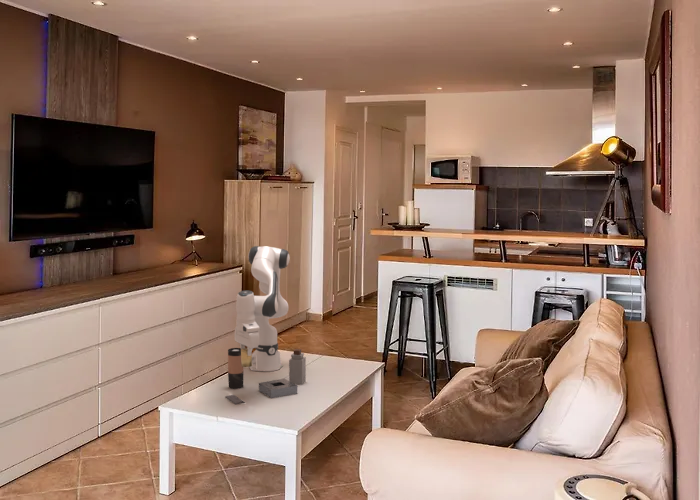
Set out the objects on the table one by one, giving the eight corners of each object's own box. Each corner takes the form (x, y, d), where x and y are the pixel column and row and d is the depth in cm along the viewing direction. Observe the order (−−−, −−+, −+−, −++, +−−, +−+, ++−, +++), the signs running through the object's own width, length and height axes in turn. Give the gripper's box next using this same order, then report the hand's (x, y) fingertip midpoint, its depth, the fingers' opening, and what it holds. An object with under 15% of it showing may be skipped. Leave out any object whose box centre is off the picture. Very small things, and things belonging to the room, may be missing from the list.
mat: (225, 397, 320) (225, 396, 320) (248, 393, 327) (248, 392, 327) (235, 404, 310) (235, 402, 310) (258, 400, 317) (258, 398, 317)
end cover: (239, 365, 318) (239, 349, 318) (249, 363, 321) (248, 347, 320) (244, 367, 314) (243, 350, 314) (253, 366, 317) (253, 349, 316)
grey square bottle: (302, 386, 339) (302, 351, 338) (289, 385, 341) (289, 351, 339) (305, 382, 346) (305, 348, 344) (293, 382, 347) (292, 348, 346)
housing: (258, 392, 329) (258, 382, 328) (284, 388, 336) (284, 378, 336) (271, 400, 317) (271, 390, 316) (297, 395, 324) (297, 385, 324)
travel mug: (246, 387, 337) (246, 348, 336) (239, 391, 330) (238, 351, 328) (232, 385, 340) (232, 347, 338) (225, 390, 333) (224, 350, 331)
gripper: (230, 322, 323) (231, 350, 324) (248, 329, 306) (249, 359, 307) (242, 321, 326) (243, 349, 328) (261, 328, 309) (261, 357, 310)
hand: (246, 354), depth 317 cm, fingers closed on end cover, 5 cm apart
